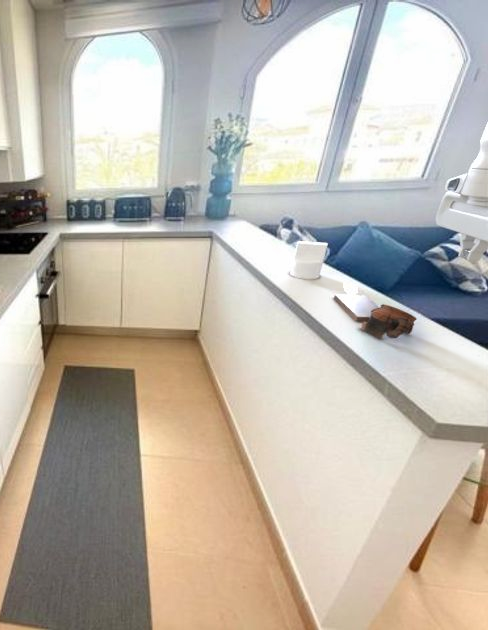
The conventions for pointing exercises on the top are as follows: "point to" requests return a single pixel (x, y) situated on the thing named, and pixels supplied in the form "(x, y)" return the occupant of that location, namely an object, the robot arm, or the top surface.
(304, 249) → the cylinder with rectangular tab
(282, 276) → the top surface
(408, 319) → the pottery mug
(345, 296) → the cutting board
